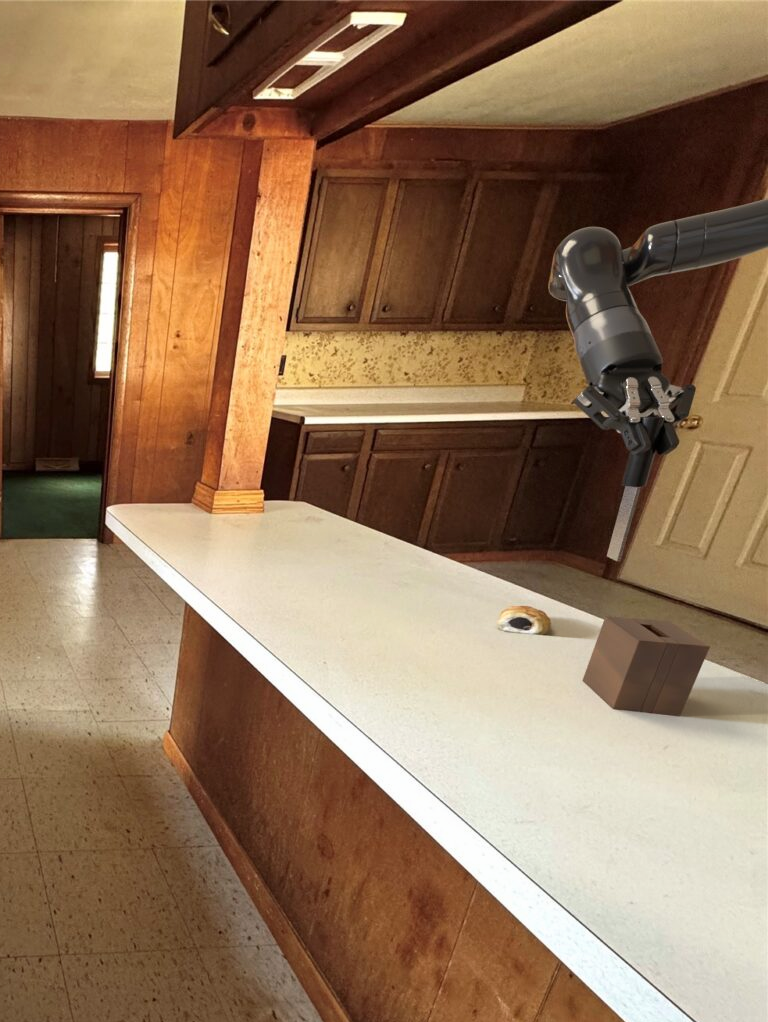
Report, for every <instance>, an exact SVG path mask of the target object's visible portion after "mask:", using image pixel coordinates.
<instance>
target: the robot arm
mask: <svg viewBox="0 0 768 1022" xmlns="http://www.w3.org/2000/svg"><path fill="white" fill-rule="evenodd" d="M765 249H768V198H765V199H761V200H757V201H753V202H749V203H745V204H741V205H737V206H733V207H729V208H725V209H721V210H715V211H711V212H710V211H709V212H706V213H701V214H696V215H692V216H687V217H683V218H679V219H678V218H677V219H674V220H669V221H665V222H660V223H657V224H654V225H652V226H649V227H648V228H646V229H644V231H643V232H642V233H641V234H640V236H639V237H638V238H637V240H636V241H635V242H634V243H633V244H632V245H631V246H629V247H628V248H625V249H623V248H622V245H621V242H620V240H619V238H618V237H617V236H616V234H614V232H612V231H611V230H609V229H607V228H605V227H600V226H587V227H583V228H580V229H577V230H575V231H573V232H571V233H570V234H568V235H567V236H565V238H563V239H562V241H560V243H559V244H558V245H557V247H556V249H555V251H554V253H553V257H552V262H551V266H550V267H551V268H550V273H549V279H548V284H547V288H548V292H549V294H550V295H551V296H552V297H553V298H554V299H556V300H559V301H562V302H566V303H565V317H566V321H567V325H568V327H569V330H570V333H571V335H572V338H573V342H574V349H575V353H576V355H577V358H578V361H579V364H580V366H581V369H582V372H583V375H584V377H585V380H586V383H587V385H588V386H587V387H586V388H584V389H583V390H582V391H581V392H580V393H579V394H578V395H577V396H575V398H574V399H573V400H572V402H573V403H574V405H575V406H576V407H578V408H579V409H580V411H582V413H584V414H585V415H586V416H587V417H588V418H590V419H591V420H592V421H593V423H595V424H596V425H597V426H598V427H599V428H600V429H601V430H604V431H608V430H610V429H612V430H615V431H616V432H617V433H618V434H620V435H621V437H622V439H623V442H624V445H625V447H626V449H627V450H628V451H629V452H630V451H631V453H632V455H641V454H643V453H644V452H646V451H647V450H648V449H650V447H651V442H650V440H649V437H648V434H647V432H646V429H645V427H644V424H643V423H638V422H639V421H640V420H641V419H640V417H665V419H664V423H663V426H662V430H661V433H660V437H659V441H658V444H657V448H656V451H655V452H656V453H657V455H659V456H666V455H668V454H670V453H671V452H673V451H674V450H676V449H677V448H678V446H679V445H680V438H679V437H678V434H677V431H676V429H675V427H676V425H679V423H681V422H682V421H683V420H685V419H686V418H688V417H689V416H690V411H691V408H692V405H693V401H694V398H695V394H696V391H697V387H696V386H695V385H694V384H692V383H687V384H685V385H684V386H683V387H681V386H677V385H674V384H671V382H670V380H669V378H667V376H665V375H664V374H663V373H662V369H663V361H664V359H663V357H662V354H661V352H660V350H659V347H658V344H657V343H656V341H655V338H654V336H653V333H652V332H651V329H650V327H649V324H648V323H647V320H646V319H645V317H644V316H643V315H642V313H641V312H640V310H639V308H638V305H637V303H636V301H635V299H634V296H633V294H632V292H631V290H630V289H629V287H630V286H633V285H635V284H637V283H640V282H643V281H646V280H649V279H650V278H653V277H658V276H665V275H670V274H675V273H681V272H687V271H693V270H697V269H703V268H707V267H711V266H712V267H713V266H716V265H719V264H724V263H727V262H730V261H734V260H736V259H740V258H743V257H746V256H749V255H752V254H755V253H757V252H759V251H762V250H765ZM602 412H603V413H605V414H606V415H607V416H608V417H606V416H605V415H604V414H602Z"/></svg>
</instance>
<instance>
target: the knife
mask: <svg viewBox="0 0 768 1022" xmlns="http://www.w3.org/2000/svg"><path fill="white" fill-rule="evenodd" d="M640 419H641V420H640V421H639V422H638V423H643V424H644V427H645V429H646V432H647V434H648V437H649V440H650V442H651V447H650V449H648V450H647V451H646V452H644V453H643V454H641V455H632V453H631V451H629V454H628V458H627V462H626V465H625V468H624V473H623V476H622V480H621V484H620V485H621V486H623V487H624V490H623V494H622V497H621V502H620V505H619V508H618V513H617V516H616V520H615V523H614V528H613V531H612V534H611V535H612V536H611V538H610V542H609V547H608V550H607V554H606V558H609V559H612V561H616V562H621V560H622V556H623V554H624V550H625V546H626V542H627V538H628V535H629V532H630V528H631V524H632V520H633V517H634V513H635V510H636V505H637V503H638V499H639V495H640V492H641V489H642V488H644V487H647V483H648V480H649V476H650V472H651V469H652V466H653V462H654V460H655V459H654V458H655V455H656V452H657V451H656V448H657V444H658V441H659V437H660V433H661V430H662V426H663V423H664V419H665V417H659V416H657V417H640Z"/></svg>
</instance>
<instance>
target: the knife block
mask: <svg viewBox="0 0 768 1022" xmlns="http://www.w3.org/2000/svg"><path fill="white" fill-rule="evenodd" d="M710 648H711V646H710V645H709V644H707V643H705V641H704V642H703V641H702V640H700V639H699V638H697V637H696V636H695V635H692V634H691V633H689V632H688V631H686V630H684V629H683V628H682V627H680V626H678V625H677V624H675V623H674V622H672V621H670V620H661V619H647V618H634V617H632V618H631V617H618V616H609V615H608V616H605V617H604V619H603V621H602V625H601V628H600V630H599V633H598V636H597V639H596V642H595V644H594V647H593V650H592V653H591V655H590V659H589V661H588V664H587V667H586V669H585V672H584V674H583V678H582V683H584V684H585V685H586V686H587V687H588V688H589V689H590V690H591V691H592V692H594V694H596V695H597V696H598V697H599V698H600V699H601V700H602V701H603V702H604V703H605V704H607V706H608V707H610V708H611V709H612V710H615V711H616V710H617V711H624V712H625V711H626V712H636V713H645V714H653V715H661V716H673V717H681V715H682V712H683V710H684V708H685V707H686V705H687V704H686V703H687V701H688V700H689V696H690V694H691V692H692V689H693V687H694V685H695V684H696V683H695V682H696V680H697V679H698V676H699V674H700V671H701V670H702V669H701V668H702V667H703V664H704V662H705V659H706V657H707V655H708V653H709V651H710Z"/></svg>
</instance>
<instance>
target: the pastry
mask: <svg viewBox="0 0 768 1022" xmlns="http://www.w3.org/2000/svg"><path fill="white" fill-rule="evenodd" d="M496 625H497V627H498V629H499V630H500V631H503V632H508V633H511V634H514V633H515V634H524V635H532V636H533V635H535V636H544V635H546V634H548V633H549V631H550V628H551V626H552V622H551V618H550V617H549V616H548V614H547V613H546V612H545V611H543V610H541V609H537V608H534V607H532V606H530V605H513V606H509V607H507V608H506V609H504V610H502V611H501V612H500V614H499V618H498V619H497V620H496Z"/></svg>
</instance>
